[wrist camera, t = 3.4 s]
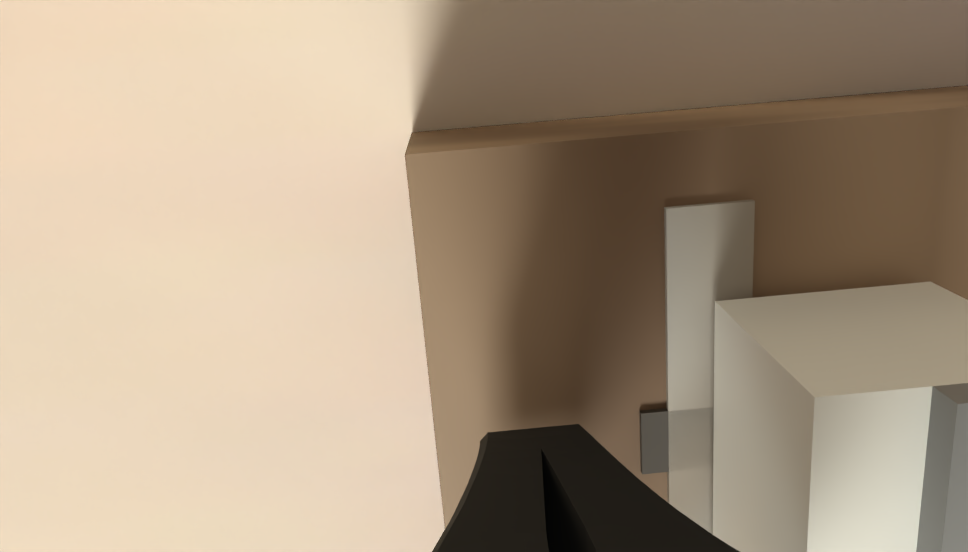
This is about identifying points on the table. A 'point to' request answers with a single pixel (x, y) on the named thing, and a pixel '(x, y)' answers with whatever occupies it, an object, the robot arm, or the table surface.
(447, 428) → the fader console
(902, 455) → the fader knob
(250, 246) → the table surface
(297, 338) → the table surface
